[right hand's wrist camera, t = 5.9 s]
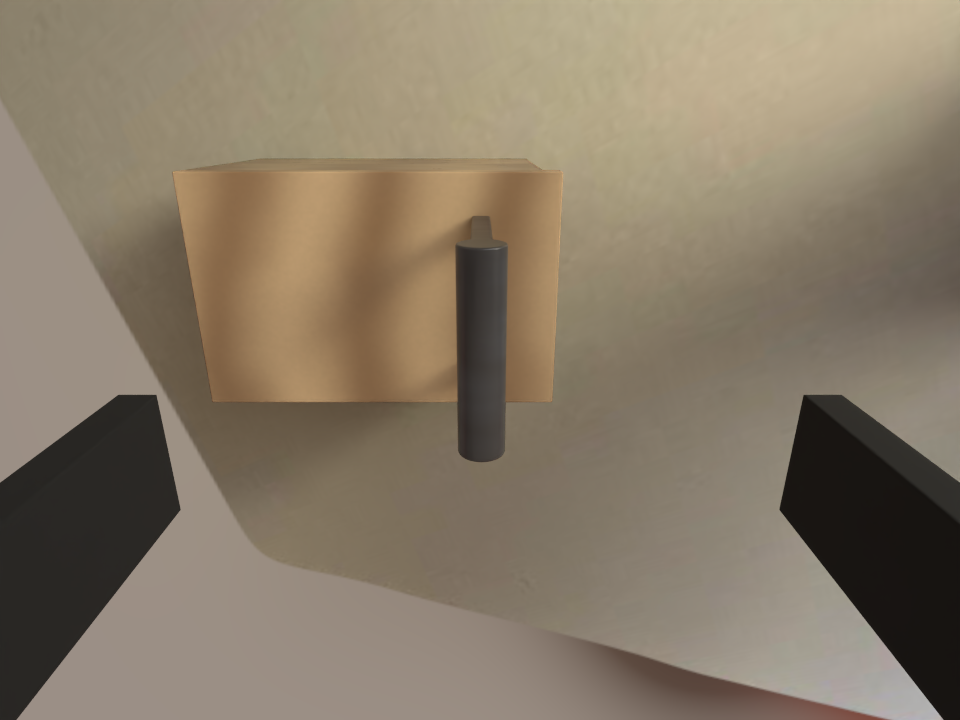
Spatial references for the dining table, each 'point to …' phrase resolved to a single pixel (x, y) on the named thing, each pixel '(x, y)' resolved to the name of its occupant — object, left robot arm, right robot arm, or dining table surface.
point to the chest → (377, 164)
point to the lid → (378, 287)
